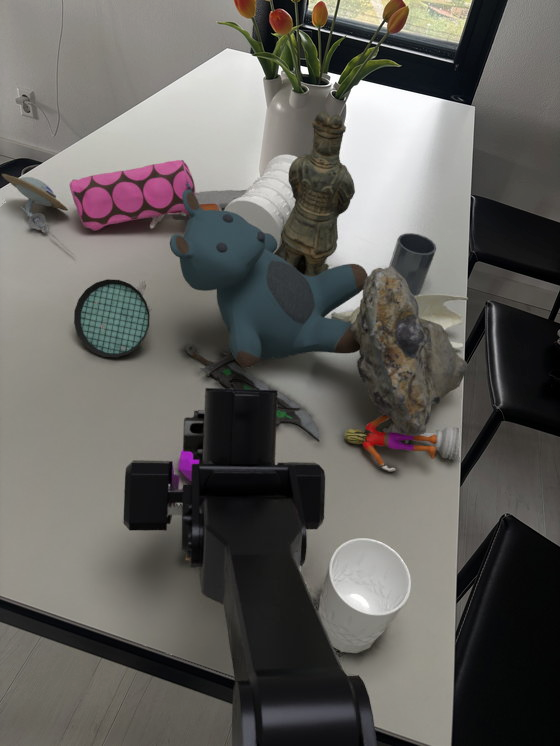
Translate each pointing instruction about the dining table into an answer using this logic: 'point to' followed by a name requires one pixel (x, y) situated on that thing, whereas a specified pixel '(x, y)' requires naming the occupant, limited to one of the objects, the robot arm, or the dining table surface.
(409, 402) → the rock
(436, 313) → the clam shell
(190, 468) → the crystal
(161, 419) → the dining table surface
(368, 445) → the toy figure
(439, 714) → the dining table surface
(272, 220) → the decorative container
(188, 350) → the sword
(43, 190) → the toy
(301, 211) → the statue
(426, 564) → the dining table surface
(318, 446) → the dining table surface
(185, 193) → the stuffed animal
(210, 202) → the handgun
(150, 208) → the pencil case
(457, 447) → the chess piece
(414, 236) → the pencil cup
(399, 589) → the white cup
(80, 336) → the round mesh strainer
